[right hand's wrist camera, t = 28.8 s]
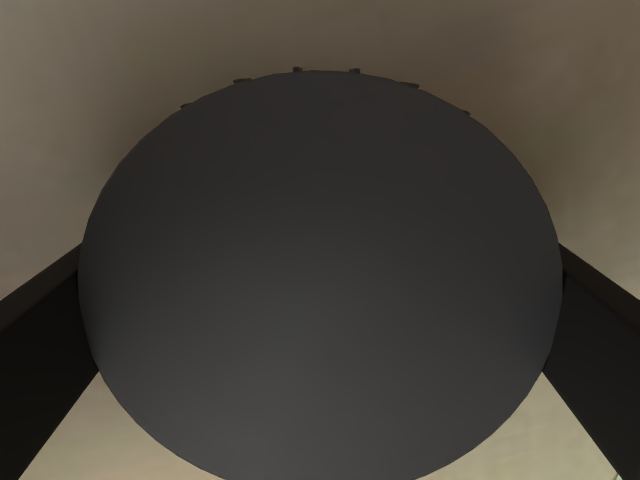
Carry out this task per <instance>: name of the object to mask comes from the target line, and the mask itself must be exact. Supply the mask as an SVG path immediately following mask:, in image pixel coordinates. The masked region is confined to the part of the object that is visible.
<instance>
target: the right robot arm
mask: <svg viewBox="0 0 640 480" xmlns="http://www.w3.org/2000/svg"><path fill="white" fill-rule="evenodd" d="M558 244H559V250H560V255H561V261H562V273H563V298H562V304H561V309H560V314H559V318H558V322H557V327H556V331H555V335H554V339H553V343H552V347H551V351H550V354H549V356H548V358H547V360H546V363H545V365H544V367H543V369H542V372H543V373H544V375H545V376H546V377H547V379H548V380H549V381H550V383H551V384H552V386H553V387H554V388H555V390H556V391H557V392H558V394H559V395H560V396H561V398H562V399H563V400H564V402H565V403H566V404H567V406H568V407H569V408H570V410H571V411H572V412H573V414H574V415H575V416H576V418H577V419H578V421H579V422H580V423H581V425H582V426H583V427H584V429H585V430H586V431H587V433H588V434H589V435H590V437H591V438H592V439H593V441H594V442H595V443H596V445H597V446H598V447H599V449H600V450H601V452H602V453H603V454H604V456H605V457H606V458H607V460H608V461H609V462H610V464H611V465H612V466H613V468H614V469H615V470H616V472H617V473H618V474H619V476H620V477H621V478H622V480H640V300H638V299H637V298H635V297H634V296H633V295H631V294H630V293H628V292H627V291H626V290H624V289H623V288H621V287H620V286H619V285H617V284H616V283H614V282H613V281H612V280H610V279H609V278H607V277H606V276H605V275H603V274H602V273H600V272H599V271H598V270H596V269H595V268H593V267H592V266H591V265H589V264H588V263H586V262H585V261H584V260H582V259H581V258H579V257H578V256H577V255H575V254H574V253H572V252H571V251H570V250H568V249H567V248H565V247H564V246H562V245H561V244H560V243H558ZM81 245H82V243H81V244H79V245H78V246H77V247H75V248H74V249H72V250H71V251H70V252H68V253H67V254H65V255H64V256H63V257H61V258H60V259H58V260H57V261H56V262H54V263H53V264H51V265H50V266H49V267H47V268H46V269H44V270H43V271H42V272H40V273H39V274H37V275H36V276H35V277H33V278H32V279H30V280H29V281H28V282H26V283H25V284H23V285H22V286H21V287H19V288H18V289H16V290H15V291H14V292H12V293H11V294H9V295H8V296H6V297H5V298H4V299H2V300H1V301H0V480H18V479H19V478H20V476H21V475H22V474H23V472H24V471H25V470H26V468H27V467H28V466H29V464H30V463H31V462H32V460H33V459H34V458H35V456H36V455H37V454H38V452H39V451H40V450H41V448H42V447H43V445H44V444H45V443H46V441H47V440H48V439H49V437H50V436H51V435H52V433H53V432H54V431H55V429H56V428H57V427H58V425H59V424H60V423H61V421H62V420H63V419H64V417H65V416H66V414H67V413H68V412H69V410H70V409H71V408H72V406H73V405H74V404H75V402H76V401H77V400H78V398H79V397H80V396H81V394H82V393H83V392H84V390H85V389H86V388H87V386H88V385H89V383H90V382H91V381H92V379H93V378H94V377H95V375H96V374H97V373H98V371H99V370H98V368H97V366H96V364H95V362H94V360H93V358H92V355H91V351H90V348H89V344H88V340H87V335H86V331H85V327H84V323H83V318H82V314H81V310H80V305H79V300H78V279H77V276H78V267H79V259H80V250H81Z"/></svg>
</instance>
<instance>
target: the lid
mask: <svg viewBox="0 0 640 480" xmlns="http://www.w3.org/2000/svg"><path fill="white" fill-rule="evenodd" d="M233 82H234V84H233V85H231V86H228V87H226V88H223V89H221V90H218V91H216V92H213V93H211V94H209V95H206V96H204V97H201V98H199V99H198V100H196V101H194V102H192V103H188V104H184V105H182V106H181V107H180V108H181V110H179V111H177V112H176V113H174V114H172V115H170V116H169V117H168V118H167V119H165V120H164V121H163V122H162V123H160V124H159V125H158V126H157V127H155V128H154V129H153V130H152V131H150V132H149V133H148V134H147V135H146V136H144V137H143V138H142V139H141V140H140V141H139V142H138V143H137V145H136V146H135V147H134V148H133V149H132V150H131V151H130V152H129V153H128V154H127V155H126V157H125V158H124V159H123V160H122V161H121V162H120V163H119V165H118V166H117V168H116V169H115V171H114V172H113V174H112V175H111V177H110V178H109V180H108V181H107V183H106V184H105V186H104V187H103V189H102V191H101V193H100V195H99V197H98V199H97V202H96V204H95V206H94V208H93V210H92V213H91V215H90V217H89V220H88V223H87V227H86V231H85V234H84V238H83V241H82V245H81V250H80V259H79V267H78V276H77V279H78V300H79V305H80V310H81V314H82V318H83V323H84V327H85V331H86V335H87V340H88V344H89V348H90V351H91V355H92V358H93V360H94V362H95V364H96V366H97V368H98V370H99V372H100V374H101V376H102V378H103V380H104V382H105V383H106V384H107V386H108V387H109V389H110V390H111V392H112V393H113V395H114V396H115V398H116V399H117V401H118V402H119V404H120V405H121V406H122V407H123V408H124V409H125V410H126V411H127V413H128V414H129V415H130V416H131V417H132V418H133V419H134V421H135V422H136V423H137V424H138V425H139V426H140V427H142V428H143V429H144V430H145V431H146V432H147V433H148V434H149V435H150V436H152V437H153V438H154V439H155V440H156V441H157V442H159V443H160V444H162V445H163V446H164V447H166V448H167V449H169V450H170V451H171V452H173V453H174V454H176V455H177V456H179V457H180V458H182V459H184V460H186V461H187V462H189V463H191V464H193V465H194V466H196V467H198V468H200V469H202V470H204V471H207V472H209V473H211V474H213V475H216V476H218V477H220V478H223V479H225V480H415V479H418V478H420V477H423V476H426V475H428V474H430V473H432V472H434V471H436V470H438V469H440V468H442V467H444V466H447V465H449V464H450V463H452V462H454V461H455V460H457V459H458V458H460V457H462V456H463V455H465V454H467V453H468V452H470V451H471V450H473V449H474V448H475V447H477V446H478V445H479V444H480V443H482V442H483V441H484V440H485V439H487V438H488V437H489V436H491V435H492V434H493V433H494V432H495V431H496V430H497V429H498V428H499V427H500V426H501V425H502V424H503V423H504V422H505V421H506V420H507V419H508V418H509V417H510V416H511V415H512V414H513V413H514V411H515V410H516V409H517V408H518V406H519V405H520V404H521V403H522V401H523V400H524V399H525V398H526V396H527V395H528V393H529V392H530V390H531V388H532V387H533V385H534V383H535V382H536V380H537V379H538V377H539V375H540V374H541V372H542V369H543V367H544V365H545V363H546V360H547V358H548V356H549V354H550V351H551V347H552V343H553V339H554V335H555V331H556V327H557V322H558V318H559V314H560V309H561V304H562V298H563V273H562V261H561V255H560V250H559V244H558V239H557V234H556V231H555V229H554V226H553V223H552V220H551V217H550V214H549V211H548V208H547V206H546V204H545V202H544V200H543V199H542V197H541V195H540V193H539V191H538V189H537V187H536V185H535V184H534V182H533V180H532V178H531V177H530V176H529V174H528V173H527V172H526V170H525V169H524V168H523V166H522V165H521V164H520V162H519V161H518V160H517V158H516V157H515V156H514V155H513V153H512V152H511V151H510V150H509V149H508V148H507V147H506V146H505V145H504V144H503V143H502V142H501V141H500V140H499V139H497V138H496V137H495V136H494V135H493V134H492V133H491V132H490V131H489V130H488V129H487V128H486V127H484V126H483V125H481V124H480V123H479V122H477V121H476V120H474V119H473V118H472V117H470V116H469V115H470V113H469V112H467V111H464V110H460V109H459V108H457V107H455V106H453V105H451V104H449V103H447V102H446V101H444V100H442V99H440V98H438V97H436V96H434V95H432V94H430V93H428V92H426V91H423V90H420V89H418V87H419V85H417V84H415V83H405V82H397V81H394V80H391V79H387V78H381V77H376V76H370V75H365V74H360V69H357V68H354V69H350V70H349V72H340V71H317V70H310V71H302V68H300V67H293V72H290V73H280V74H272V75H268V76H264V77H260V78H256V79H251V78H247V79H237V80H234V81H233Z"/></svg>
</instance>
